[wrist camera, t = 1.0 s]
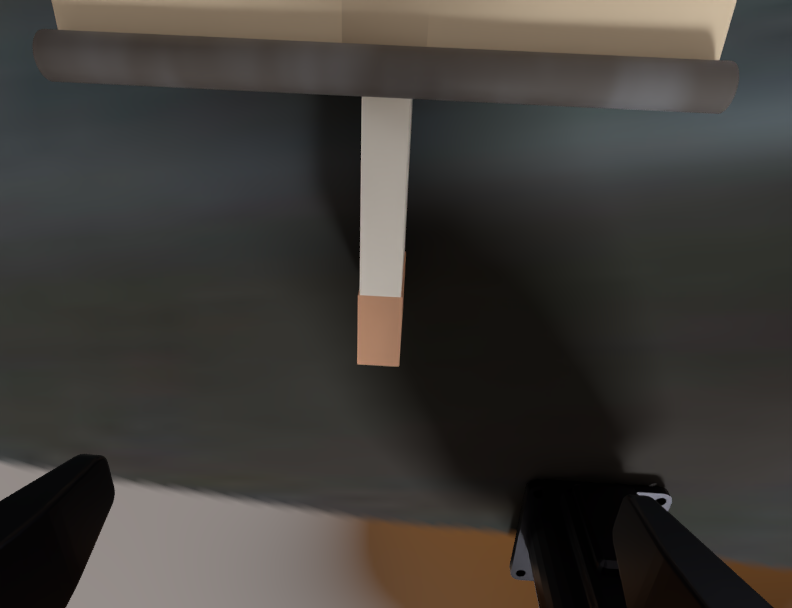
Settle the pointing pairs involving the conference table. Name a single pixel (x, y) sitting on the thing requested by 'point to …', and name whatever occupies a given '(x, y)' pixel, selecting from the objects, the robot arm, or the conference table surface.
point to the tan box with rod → (406, 49)
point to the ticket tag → (383, 227)
